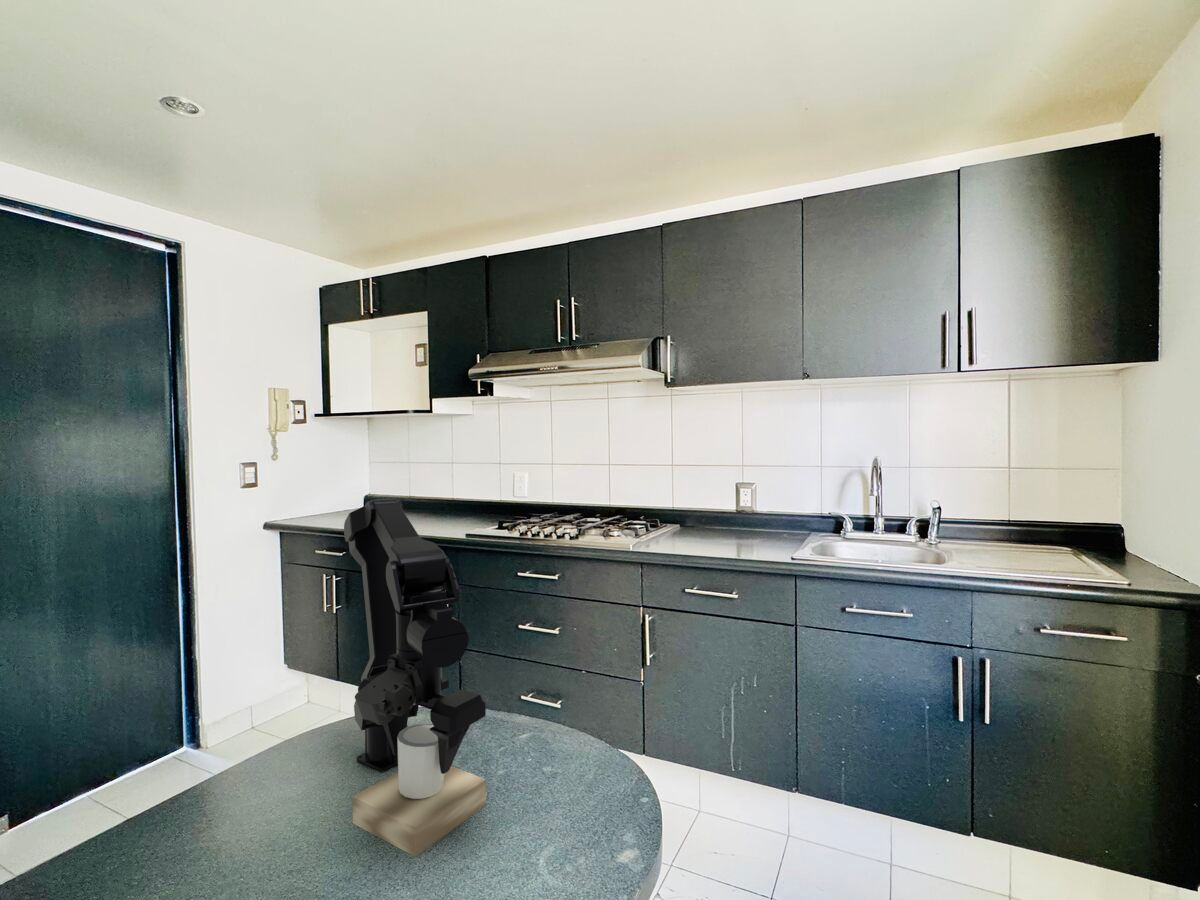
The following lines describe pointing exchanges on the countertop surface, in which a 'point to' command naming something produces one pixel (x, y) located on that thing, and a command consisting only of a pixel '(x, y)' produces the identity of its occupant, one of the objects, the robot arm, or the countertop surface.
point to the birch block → (418, 810)
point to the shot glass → (419, 762)
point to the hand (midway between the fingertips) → (420, 762)
